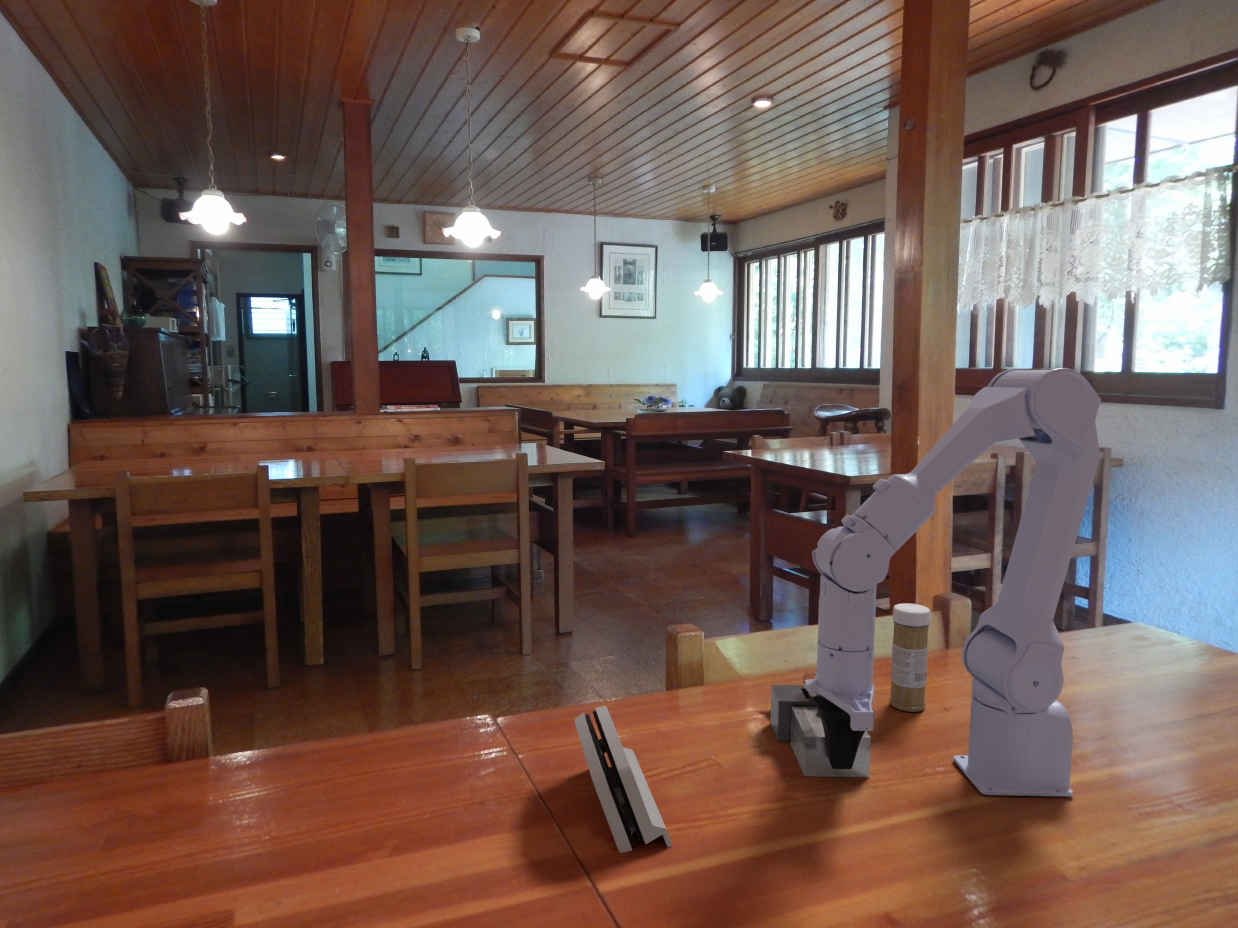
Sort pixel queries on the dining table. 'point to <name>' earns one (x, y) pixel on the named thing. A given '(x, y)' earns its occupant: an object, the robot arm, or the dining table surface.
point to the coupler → (786, 707)
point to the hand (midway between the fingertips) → (840, 766)
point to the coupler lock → (822, 746)
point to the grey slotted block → (619, 783)
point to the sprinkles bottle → (909, 657)
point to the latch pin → (806, 677)
